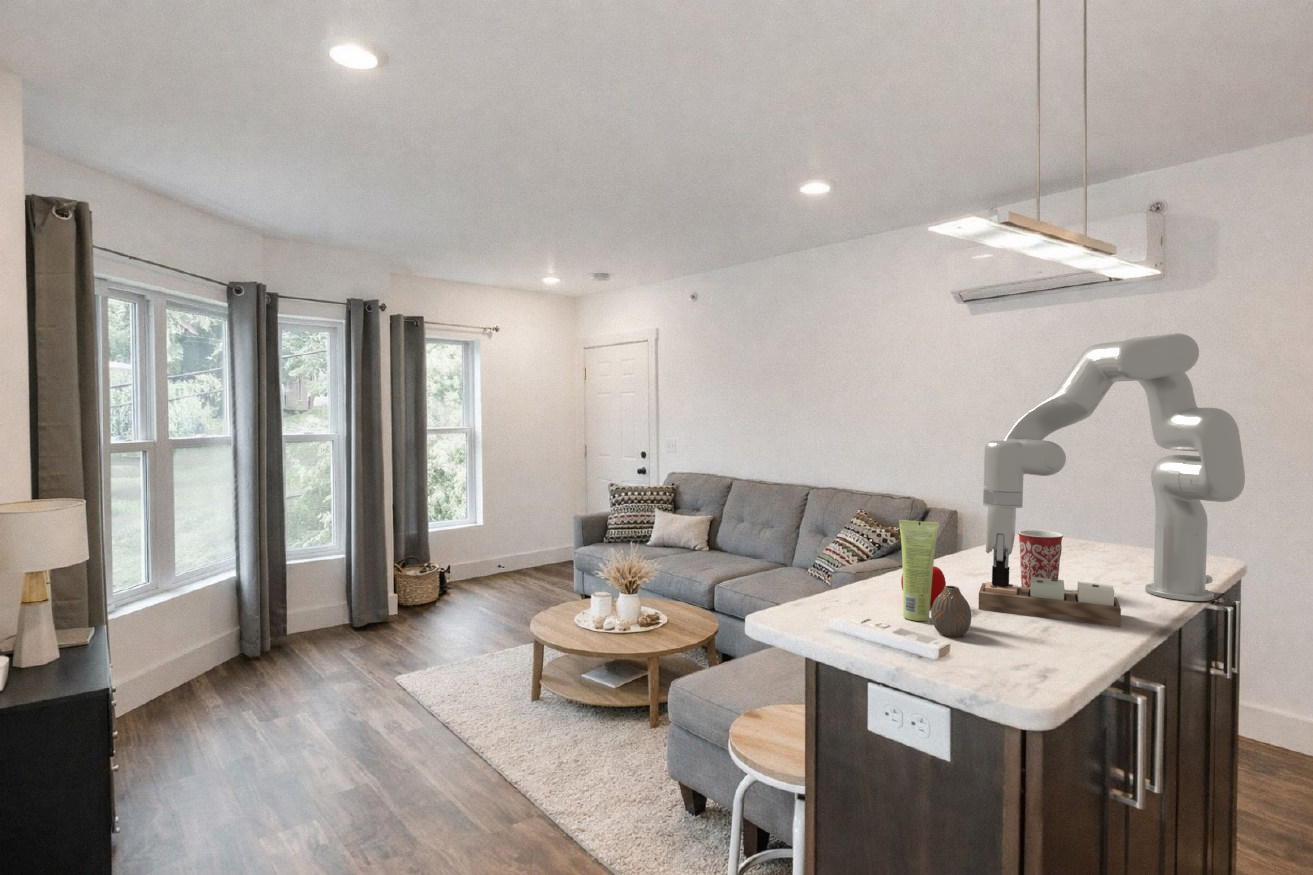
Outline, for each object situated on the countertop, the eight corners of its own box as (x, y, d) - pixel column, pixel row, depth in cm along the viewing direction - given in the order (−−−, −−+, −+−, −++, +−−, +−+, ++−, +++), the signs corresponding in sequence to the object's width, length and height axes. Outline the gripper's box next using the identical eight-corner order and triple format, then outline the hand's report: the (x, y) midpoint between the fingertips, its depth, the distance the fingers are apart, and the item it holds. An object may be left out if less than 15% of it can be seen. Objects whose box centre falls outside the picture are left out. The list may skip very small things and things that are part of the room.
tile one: (1111, 599, 146) (1111, 583, 146) (1113, 606, 140) (1114, 590, 140) (1077, 595, 149) (1077, 580, 148) (1078, 602, 143) (1078, 586, 143)
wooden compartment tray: (1116, 613, 147) (1116, 596, 147) (1120, 626, 138) (1120, 608, 138) (982, 598, 159) (982, 582, 159) (978, 609, 150) (978, 592, 150)
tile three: (1017, 598, 154) (1017, 583, 154) (1016, 605, 149) (1016, 589, 149) (986, 595, 157) (987, 580, 157) (984, 601, 152) (984, 586, 151)
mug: (1047, 598, 159) (1048, 537, 159) (1008, 589, 167) (1010, 531, 167) (1078, 591, 166) (1080, 533, 165) (1040, 583, 174) (1041, 527, 173)
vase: (924, 628, 137) (925, 582, 136) (959, 627, 137) (960, 582, 137) (941, 640, 130) (942, 591, 130) (978, 639, 130) (979, 591, 130)
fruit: (955, 606, 153) (956, 559, 153) (923, 610, 149) (924, 563, 149) (921, 595, 161) (922, 551, 161) (891, 600, 157) (891, 554, 157)
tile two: (1063, 594, 150) (1063, 578, 150) (1063, 600, 145) (1064, 584, 144) (1030, 590, 153) (1031, 575, 153) (1030, 597, 147) (1030, 581, 147)
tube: (920, 613, 147) (921, 518, 146) (937, 620, 142) (939, 522, 141) (897, 616, 145) (898, 519, 144) (914, 623, 140) (916, 523, 140)
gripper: (985, 494, 160) (983, 576, 161) (980, 501, 147) (977, 590, 148) (1023, 496, 157) (1021, 580, 157) (1021, 504, 144) (1018, 595, 144)
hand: (1000, 585), depth 153 cm, fingers closed
